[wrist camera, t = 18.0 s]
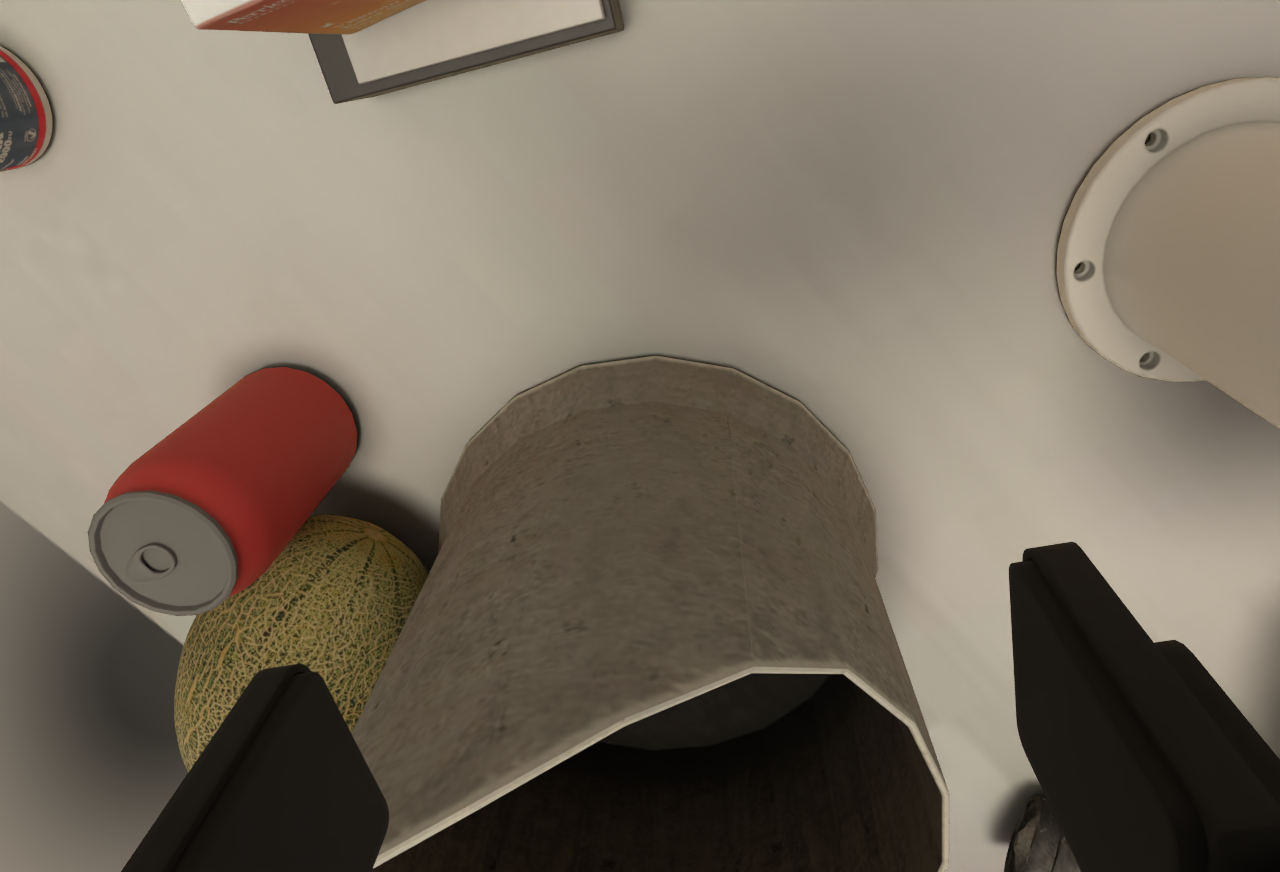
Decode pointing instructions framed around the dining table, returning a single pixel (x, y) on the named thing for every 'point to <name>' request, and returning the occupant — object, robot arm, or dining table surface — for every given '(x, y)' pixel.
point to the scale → (454, 41)
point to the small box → (292, 14)
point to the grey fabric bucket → (653, 647)
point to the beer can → (223, 492)
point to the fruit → (301, 624)
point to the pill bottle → (21, 114)
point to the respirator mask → (1039, 842)
